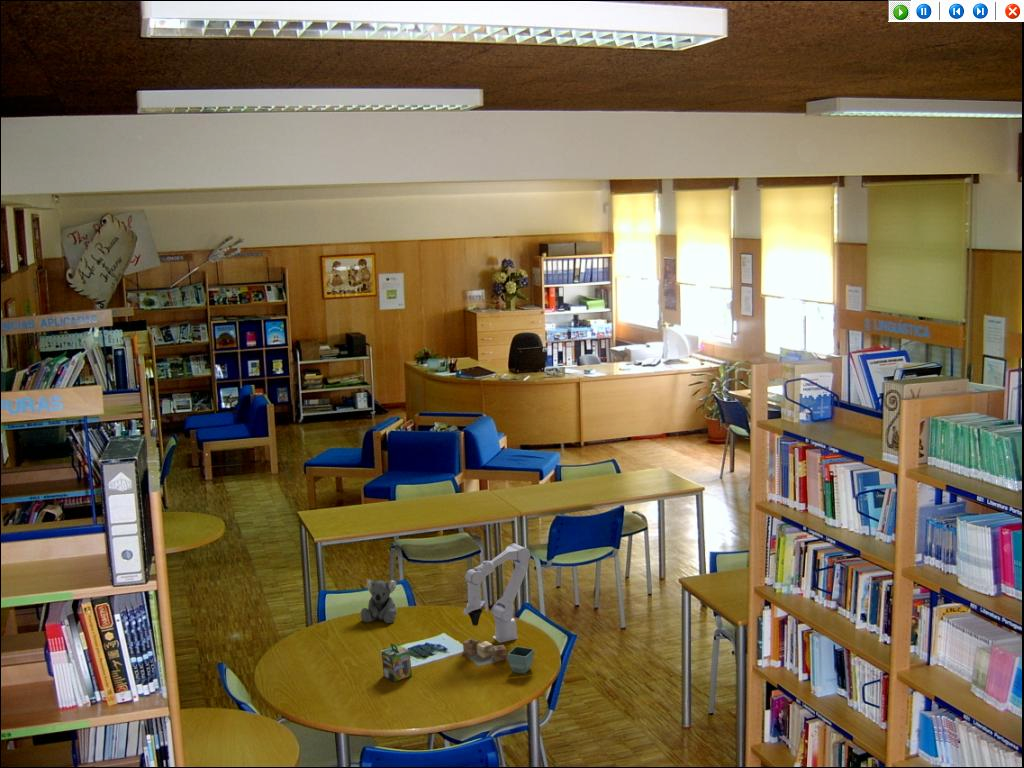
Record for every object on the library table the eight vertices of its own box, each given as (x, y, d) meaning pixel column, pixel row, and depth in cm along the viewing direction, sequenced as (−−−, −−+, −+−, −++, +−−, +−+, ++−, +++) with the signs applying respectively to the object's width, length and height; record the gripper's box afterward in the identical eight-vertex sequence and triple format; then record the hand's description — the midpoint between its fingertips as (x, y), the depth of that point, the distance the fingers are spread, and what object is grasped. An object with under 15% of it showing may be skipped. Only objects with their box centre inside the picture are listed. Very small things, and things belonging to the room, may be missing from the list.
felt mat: (492, 645, 493) (492, 644, 493) (509, 659, 477) (509, 658, 477) (462, 652, 487) (462, 651, 487) (478, 667, 471) (478, 666, 471)
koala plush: (359, 623, 527) (356, 585, 523) (369, 610, 544) (367, 572, 541) (393, 624, 524) (391, 585, 520) (403, 610, 541) (401, 572, 538)
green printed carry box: (412, 676, 465) (410, 643, 462) (394, 682, 459) (391, 649, 457) (400, 669, 472) (398, 637, 469) (382, 676, 466) (380, 643, 464)
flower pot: (535, 668, 467) (534, 648, 465) (527, 676, 459) (526, 656, 457) (516, 665, 470) (515, 646, 469) (508, 674, 463) (507, 654, 461)
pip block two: (471, 648, 490) (470, 638, 489) (479, 651, 486) (478, 640, 486) (463, 652, 486) (463, 641, 485) (471, 655, 483) (471, 644, 482)
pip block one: (504, 655, 481) (504, 644, 480) (506, 660, 476) (505, 649, 475) (493, 656, 480) (492, 645, 479) (495, 661, 475) (494, 650, 474)
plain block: (486, 651, 486) (486, 640, 485) (492, 655, 482) (492, 644, 481) (477, 654, 483) (476, 643, 482) (483, 658, 479) (483, 647, 478)
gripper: (476, 589, 497) (477, 618, 499) (457, 599, 485) (458, 628, 487) (489, 592, 493) (490, 621, 495) (470, 602, 481) (470, 631, 483)
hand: (475, 625), depth 491 cm, fingers closed
